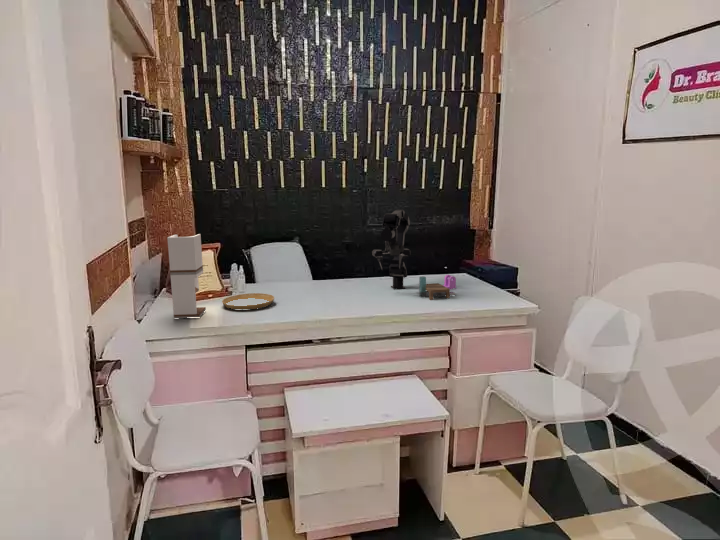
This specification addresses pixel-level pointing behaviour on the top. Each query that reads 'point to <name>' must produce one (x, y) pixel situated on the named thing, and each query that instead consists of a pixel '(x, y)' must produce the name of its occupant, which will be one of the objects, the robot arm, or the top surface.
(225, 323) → the top surface
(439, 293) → the teal angled piece
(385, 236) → the robot arm
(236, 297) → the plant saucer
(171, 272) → the grey segmented column
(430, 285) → the stand
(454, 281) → the bracket
